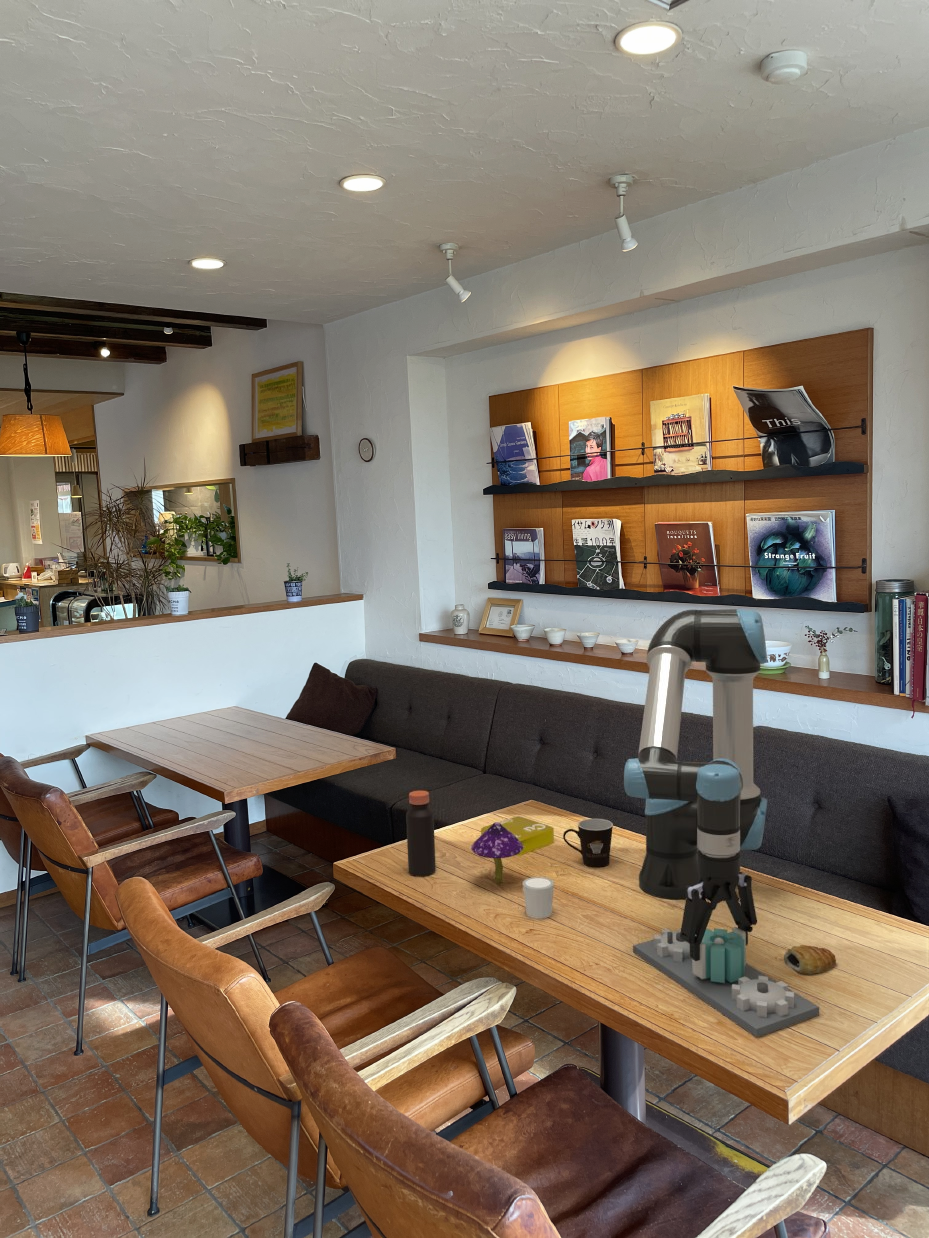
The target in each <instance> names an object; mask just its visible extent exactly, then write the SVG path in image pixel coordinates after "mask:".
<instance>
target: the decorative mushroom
mask: <svg viewBox="0 0 929 1238" xmlns="http://www.w3.org/2000/svg"><path fill="white" fill-rule="evenodd" d="M498 822H499V821H496V822H493V823H492V825H491V824H490V825H491V826H490V827H489V828H488V829H487V830H486V831H485V832H484V833H483V834H482V835H481V834H480V836H479V837H478V838H477V839H476V840H474V842H473V843H472V845H471V848H470V849H471V850H472V852H473V854H475V855H476V856H479V857H482V858H487V859H492V860H493V862H494V867H495V869H494V872H495V873H494V882H495V884H502V883H503V871H504V866H503V861H502V859H504V858H510V857H514V856H518V855H517V854H519V853H520V852H521V851H522V850H523V848H524V845H523V844H522V843H521V842H520V841H519V840H518V839H517V837H516V836H515V835H513V834H512V833H511V832H510V831H509V830H507V829H506V828H505V827H503V826H502V825H501V824H500V823H498Z"/></svg>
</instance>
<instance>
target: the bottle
mask: <svg viewBox="0 0 929 1238" xmlns="http://www.w3.org/2000/svg"><path fill="white" fill-rule="evenodd" d="M408 800H409V801H408V802H409V806H410V808H409V809H408V811H407V812H406V814H405V818H406V819H405V820H406V821H405V822H406V844H407V845H406V846H407V864H408V865H407V867H408V869H407V870H408V873H409V874H410V875H411V876H414V877H428V876H432V875H433V874H434V873H435V872H436V871H437V868H436V863H437V862H436V844H435V820H434V819H435V818H434V817H435V816H434V811H433V810H432V809H431V807H429V804H430V793H429V791H426V790H413V791H410V792H409V794H408Z"/></svg>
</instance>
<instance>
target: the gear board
mask: <svg viewBox="0 0 929 1238" xmlns="http://www.w3.org/2000/svg"><path fill="white" fill-rule="evenodd" d="M680 932H681V927H679V928H678V930H670V929H669V928H665V929H662V930H661V931H660V934H659V935H658V934H654V936H653V939H651V940H647V941H644V942H641V943H637V944H634V945H632V953H633V954H634V955H636V956H638V957H639V958H641V959H642V960H644V961H645V962H646V963H648V964H649V965H651V966H652V967H654V968H655V969H656V970H658V971H659V972H661V973H662V974H664V975H665V976H667V977H668V978H669V979H671V980H672V981H673V982H675V983H677V984H678V985H679V986H681V988H684V989H685V990H687V991H689V992H690V993H691V994H693V995H694V996H696V997H697V998H698V999H700V1000H701V1001H703V1002H704V1003H705V1004H707V1005H708V1006H710V1007H711V1008H713V1009H715V1010H716V1011H717V1012H718V1013H721V1014H722V1015H723V1016H724V1017H726V1018H727V1019H729V1020H730V1021H732V1022H733V1023H734V1024H736V1025H737V1026H739V1027H740V1028H742V1029H743V1030H745V1031H747V1032H748V1033H749V1034H751V1035H752V1036H753V1037H755V1038H760V1037H762V1036H765V1035H768V1034H771V1033H774V1032H776V1031H779V1030H782V1029H784V1028H785V1029H786V1028H788V1027H790V1026H793V1025H796V1024H798V1023H801V1022H805V1021H807V1020H809V1019H812V1018H815V1017H818V1016H820V1006H818V1005H817V1004H815V1003H813V1002H812V1001H810V1000H809V999H808V998H805V997H803V996H801V995H800V994H798V993H797V992H795V991H793V990H792V989H790V988H789V985H788V984H787V983H785V982H784V981H782V980H780V981H776V980H775V979H773V978H771V977H770V976H768V975H767V974H765V973H764V972H761V971H760V970H758V969H756V968H755V967H753V966H751V964H750V965H749V964H748V963H746V966H745V971H744V977H742V976H741V978H739V979H738V980H737V981H734V982H729V981H728V980H726V979H725V983H721V982H713V981H711V977H710V978H707V979H701V978H700V977H698V976H697V975H695V974H694V973H693V969H692V959H691V958H690V944H689V943H688V942H686V941H684V940H683V939H681V938H680ZM714 943H718V944H724V941H723V939H722V938H716V939H715V940H714Z"/></svg>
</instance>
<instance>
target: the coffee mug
mask: <svg viewBox="0 0 929 1238" xmlns="http://www.w3.org/2000/svg"><path fill="white" fill-rule="evenodd" d="M613 827H614V824H613V822H612V821H610V820H608V819H604V818H586V819H582V820H580V821H579V822H578V823H577V828H578V830H577V829H574V828H568V829H566V830H565V831H564V832H563V835H562V838H563V840H564V842H565V843H566V844H567V846H569V847H571V848H572V849H573V850H575V851H577V852H578V853H580V855H581V857H582V858H581V859H582V864H583V865H584V866H585V867H587V868H592V869H601V868H602V869H603V868H605V867H608V866H609V864H610V858H611V857H610V856H611V846H612V836H613V835H612V834H613ZM570 832H573V833H575V834H576V836H577V837H578V839H579V843H580V849H579V848H578V847H577V846H574V845H573V844H571V843H570V842H569V841H568V840H567V839H566V834H567V833H570Z"/></svg>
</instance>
